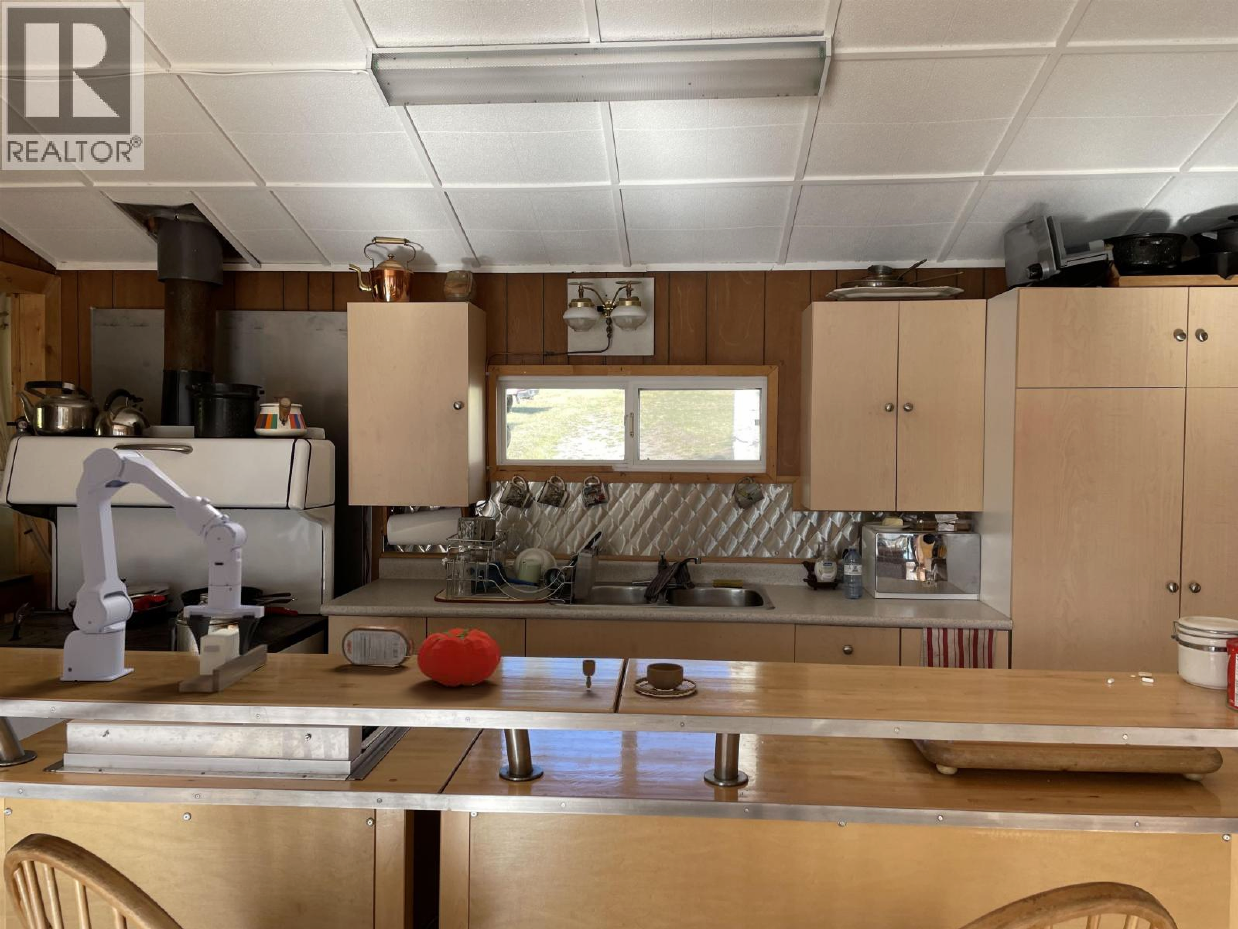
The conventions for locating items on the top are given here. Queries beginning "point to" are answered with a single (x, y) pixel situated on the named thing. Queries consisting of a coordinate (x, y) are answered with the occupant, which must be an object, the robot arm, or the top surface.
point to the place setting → (651, 677)
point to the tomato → (459, 657)
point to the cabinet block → (218, 649)
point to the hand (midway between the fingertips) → (223, 654)
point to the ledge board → (226, 672)
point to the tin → (377, 645)
